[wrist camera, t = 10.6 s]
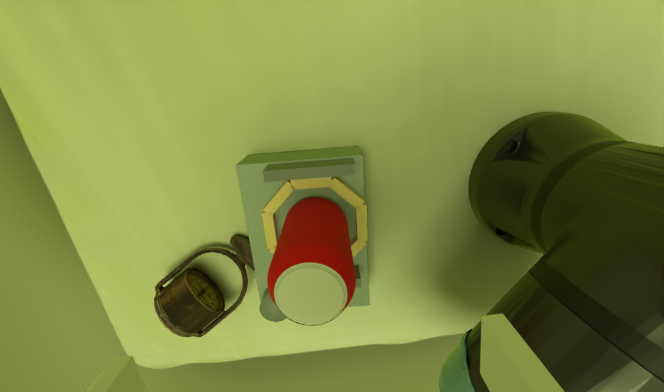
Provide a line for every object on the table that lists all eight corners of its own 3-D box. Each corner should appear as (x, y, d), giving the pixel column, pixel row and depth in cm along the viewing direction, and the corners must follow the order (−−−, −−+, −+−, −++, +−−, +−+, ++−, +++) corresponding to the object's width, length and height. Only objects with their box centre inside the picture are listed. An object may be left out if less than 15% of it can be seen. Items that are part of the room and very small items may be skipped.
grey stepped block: (357, 145, 34) (365, 160, 27) (364, 279, 39) (372, 320, 32) (248, 154, 34) (227, 171, 27) (270, 286, 39) (258, 329, 32)
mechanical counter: (120, 274, 32) (153, 360, 33) (229, 246, 30) (260, 338, 31) (166, 252, 40) (191, 324, 40) (256, 228, 37) (281, 304, 38)
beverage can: (322, 181, 30) (318, 235, 18) (359, 228, 31) (377, 305, 20) (273, 216, 31) (241, 289, 20) (311, 260, 33) (303, 350, 21)
